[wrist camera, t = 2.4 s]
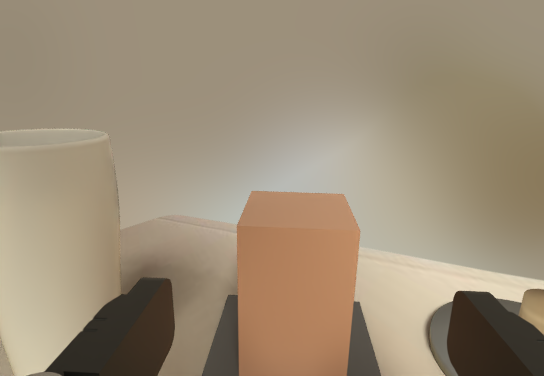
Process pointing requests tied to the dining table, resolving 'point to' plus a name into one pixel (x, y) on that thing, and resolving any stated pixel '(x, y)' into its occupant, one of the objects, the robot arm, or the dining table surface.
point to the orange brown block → (296, 284)
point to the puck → (533, 308)
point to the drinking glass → (55, 240)
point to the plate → (441, 331)
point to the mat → (225, 346)
